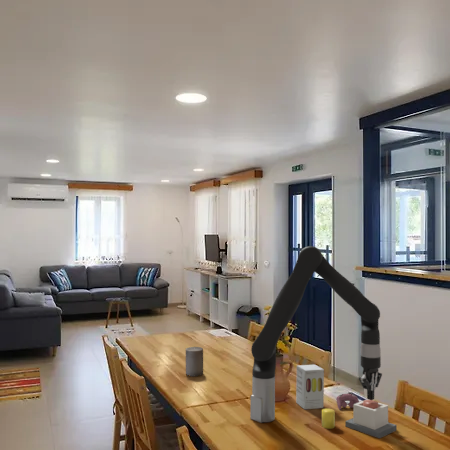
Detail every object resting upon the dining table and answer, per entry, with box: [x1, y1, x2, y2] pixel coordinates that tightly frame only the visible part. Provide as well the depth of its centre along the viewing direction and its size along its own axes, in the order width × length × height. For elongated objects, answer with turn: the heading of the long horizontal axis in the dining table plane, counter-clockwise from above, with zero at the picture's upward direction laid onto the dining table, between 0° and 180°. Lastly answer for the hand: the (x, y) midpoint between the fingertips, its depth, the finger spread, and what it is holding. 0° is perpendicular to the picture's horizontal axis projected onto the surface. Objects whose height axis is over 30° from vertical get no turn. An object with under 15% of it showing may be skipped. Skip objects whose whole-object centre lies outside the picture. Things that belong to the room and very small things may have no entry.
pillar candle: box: [185, 346, 204, 377], centre depth 261 cm, size 10×10×15 cm
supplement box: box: [295, 364, 325, 410], centre depth 213 cm, size 10×9×17 cm
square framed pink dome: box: [344, 398, 398, 439], centre depth 187 cm, size 12×15×9 cm
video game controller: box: [335, 393, 360, 411], centre depth 210 cm, size 10×5×7 cm, turn 92°
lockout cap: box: [321, 408, 336, 430], centre depth 189 cm, size 5×5×6 cm
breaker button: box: [362, 399, 379, 409], centre depth 187 cm, size 6×6×4 cm
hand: (370, 399), depth 187 cm, fingers closed
